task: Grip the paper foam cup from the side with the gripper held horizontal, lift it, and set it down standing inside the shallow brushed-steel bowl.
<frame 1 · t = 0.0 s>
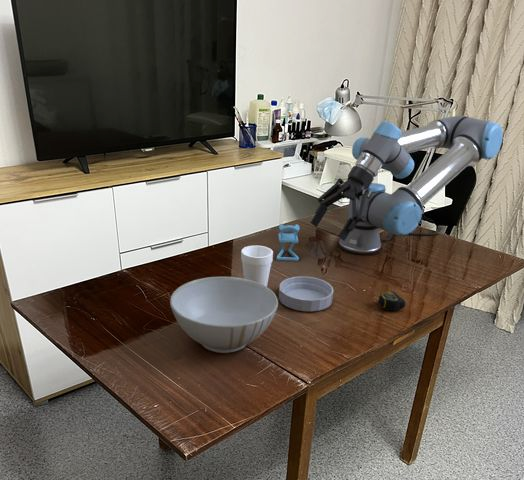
hand: (326, 231, 171), 15 cm above the table, tool tilted 35°, fingers open, 13 cm apart
foam cup: (255, 291, 168), on the table
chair: (286, 256, 193), on the table
tape measure: (390, 307, 164), on the table
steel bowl: (305, 299, 165), on the table
decorative bowl: (224, 340, 143), on the table
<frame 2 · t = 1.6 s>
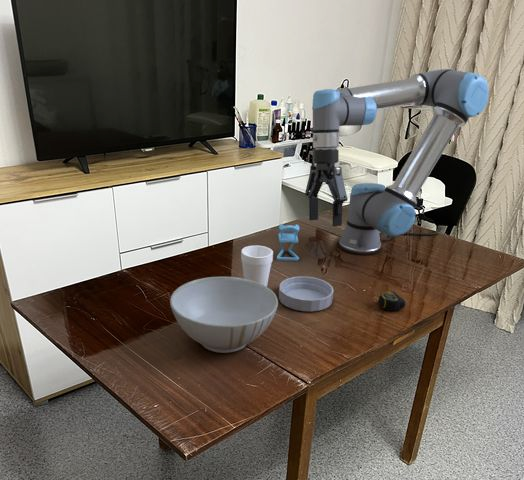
hand: (325, 222, 167), 19 cm above the table, tool pointing down, fingers open, 13 cm apart
nothing on the table moved.
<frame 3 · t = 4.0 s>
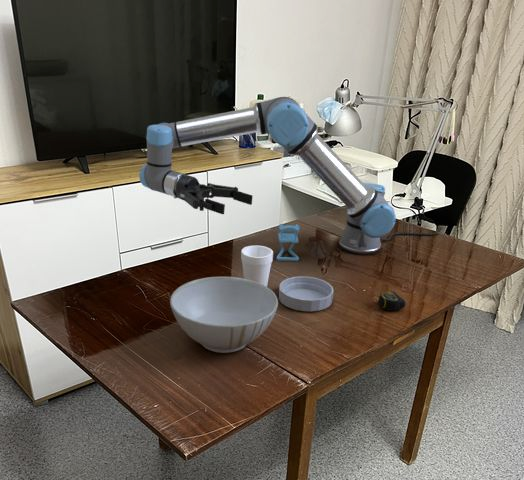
hand: (238, 204, 159), 25 cm above the table, tool horizontal, fingers open, 13 cm apart
nothing on the table moved.
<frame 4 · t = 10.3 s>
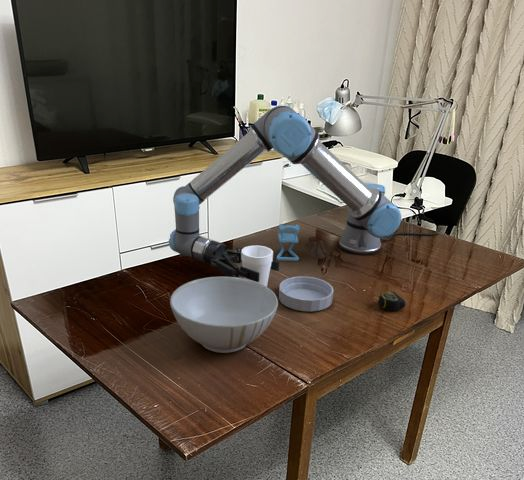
hand: (268, 272, 162), 8 cm above the table, tool horizontal, fingers closed on foam cup, 9 cm apart
foam cup: (255, 291, 168), on the table, touching gripper
everything else where it was.
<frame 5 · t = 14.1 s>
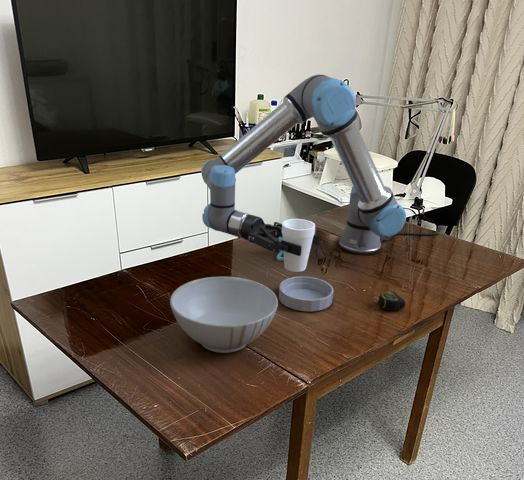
hand: (310, 246, 154), 18 cm above the table, tool horizontal, fingers closed on foam cup, 9 cm apart
foam cup: (295, 267, 160), point 10 cm above the table, touching gripper
everything else where it was.
when the fingers open (8 cm above the table, at t = 17.8 s): foam cup stays where it is, resting on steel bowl.
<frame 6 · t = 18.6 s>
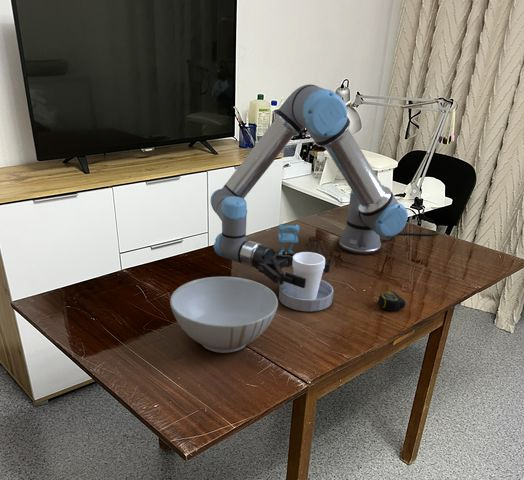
hand: (317, 275, 159), 9 cm above the table, tool horizontal, fingers open, 13 cm apart
foam cup: (305, 299, 165), resting on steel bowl
everything else where it was.
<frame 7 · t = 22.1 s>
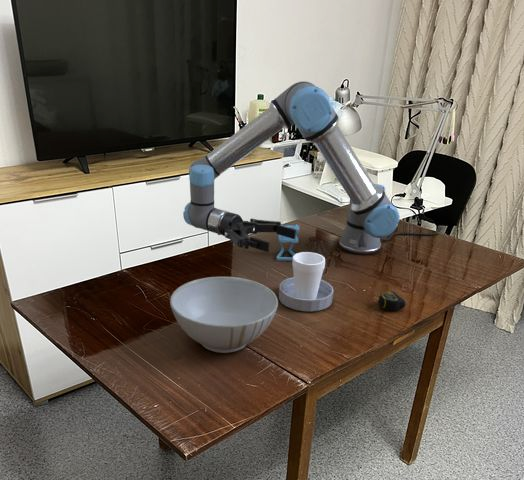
hand: (282, 240, 161), 16 cm above the table, tool horizontal, fingers open, 13 cm apart
nothing on the table moved.
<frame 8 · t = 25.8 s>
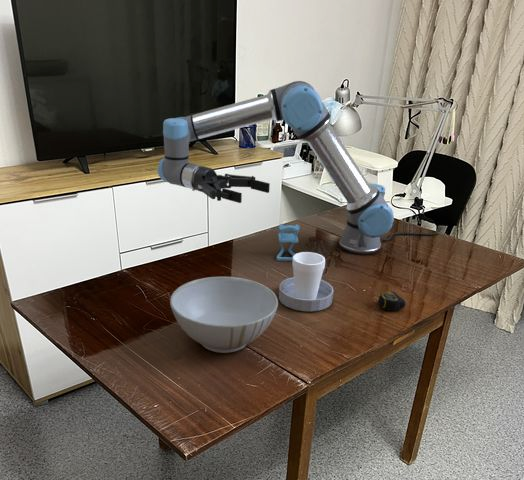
hand: (255, 193, 159), 28 cm above the table, tool horizontal, fingers open, 13 cm apart
nothing on the table moved.
at the end: foam cup inside the target area in the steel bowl (0.1 cm from its centre), point 0.2 cm above the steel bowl's base; foam cup tilted 0°; the gripper is holding nothing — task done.
